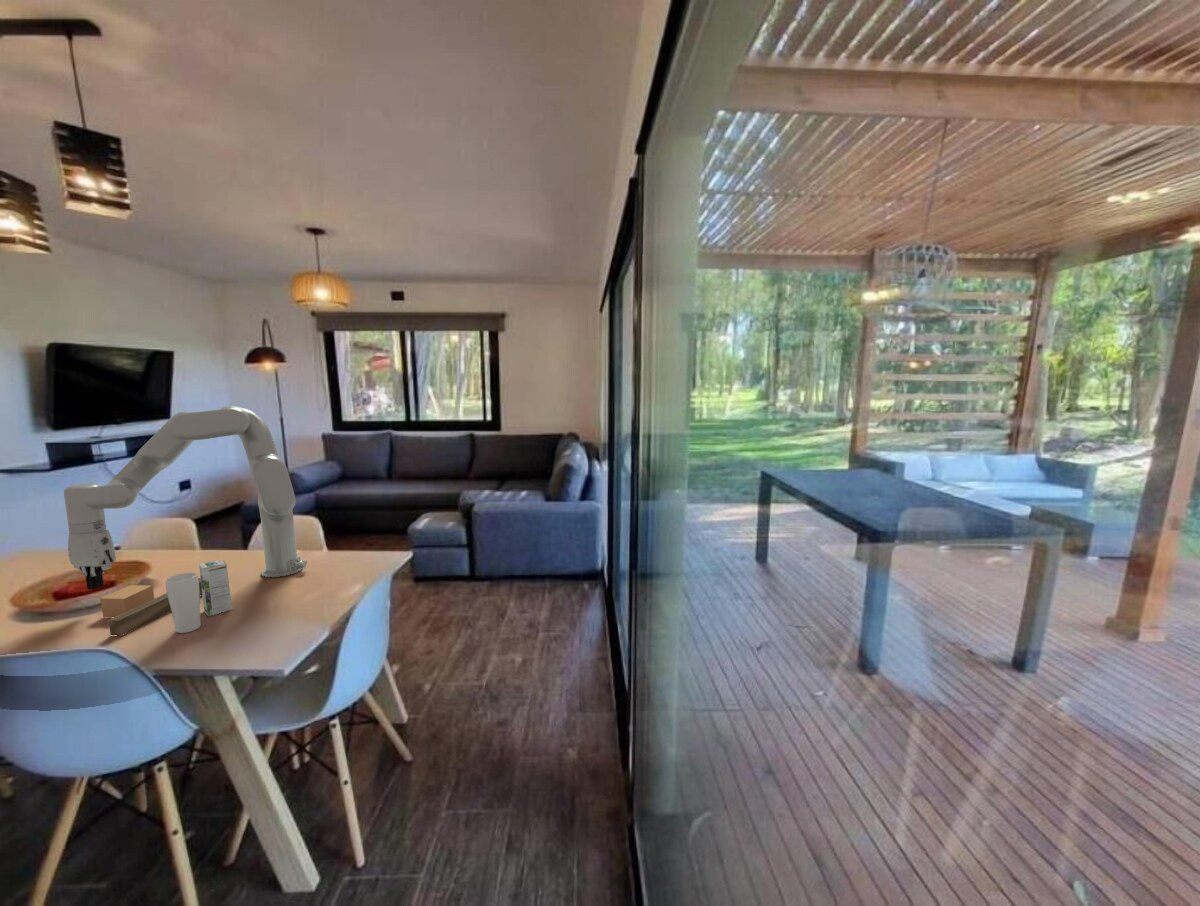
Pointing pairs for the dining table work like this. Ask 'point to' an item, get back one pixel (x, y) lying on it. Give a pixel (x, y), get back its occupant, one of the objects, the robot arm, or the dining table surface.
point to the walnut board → (141, 615)
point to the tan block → (126, 599)
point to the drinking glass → (184, 601)
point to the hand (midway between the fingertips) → (95, 587)
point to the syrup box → (215, 587)
